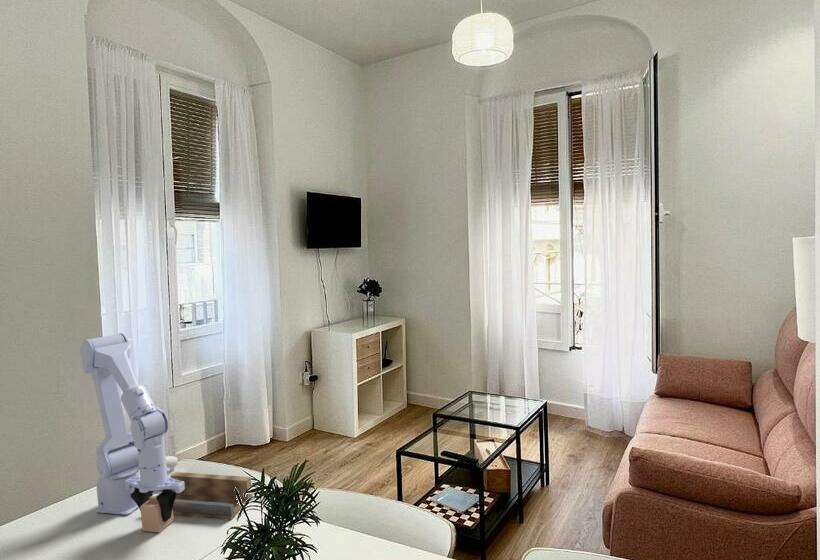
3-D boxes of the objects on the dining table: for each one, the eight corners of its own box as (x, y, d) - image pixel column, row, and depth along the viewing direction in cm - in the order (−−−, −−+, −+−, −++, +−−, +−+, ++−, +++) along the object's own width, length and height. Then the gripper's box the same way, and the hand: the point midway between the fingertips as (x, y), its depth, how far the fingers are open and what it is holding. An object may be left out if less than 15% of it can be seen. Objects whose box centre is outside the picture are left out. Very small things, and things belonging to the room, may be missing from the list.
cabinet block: (142, 530, 120) (139, 502, 119) (157, 518, 124) (154, 491, 124) (159, 532, 119) (156, 503, 118) (173, 520, 124) (171, 492, 123)
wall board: (151, 513, 128) (149, 490, 127) (177, 492, 137) (175, 472, 137) (231, 520, 123) (229, 497, 123) (252, 498, 133) (250, 477, 132)
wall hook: (140, 458, 138) (161, 442, 148) (143, 492, 139) (164, 474, 148) (170, 458, 137) (190, 442, 147) (173, 492, 138) (192, 474, 148)
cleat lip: (151, 509, 128) (150, 499, 128) (155, 506, 129) (154, 497, 129) (231, 516, 123) (230, 506, 123) (234, 513, 124) (233, 503, 124)
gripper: (112, 469, 118) (118, 525, 119) (168, 473, 115) (173, 530, 116) (135, 455, 125) (140, 509, 126) (188, 459, 122) (192, 513, 123)
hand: (157, 518), depth 121 cm, fingers closed on cabinet block, 4 cm apart
